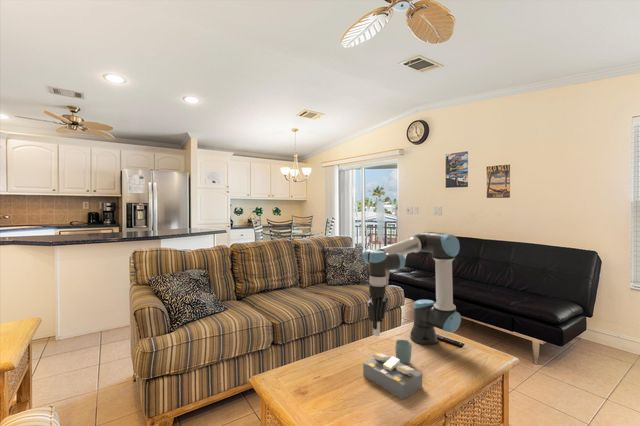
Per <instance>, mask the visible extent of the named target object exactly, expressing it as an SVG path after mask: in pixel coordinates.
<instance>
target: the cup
mask: <svg viewBox="0 0 640 426" xmlns="http://www.w3.org/2000/svg"><path fill="white" fill-rule="evenodd" d="M412 346H413V345H412V342H410V341H409V340H407V339H406V340H405V339H397V340H396V341H395V358H397V359H400V363H402V364H404V365H408V364H409V363H410V362H411V360H412Z"/></svg>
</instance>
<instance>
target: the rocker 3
mask: <svg viewBox="0 0 640 426" xmlns="http://www.w3.org/2000/svg"><path fill="white" fill-rule="evenodd" d="M397 370H398V371H400V372H402V373H404V374H408V373H414V370H415V369H414V368H412V367H410V366H409V365H406V366H397Z"/></svg>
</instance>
